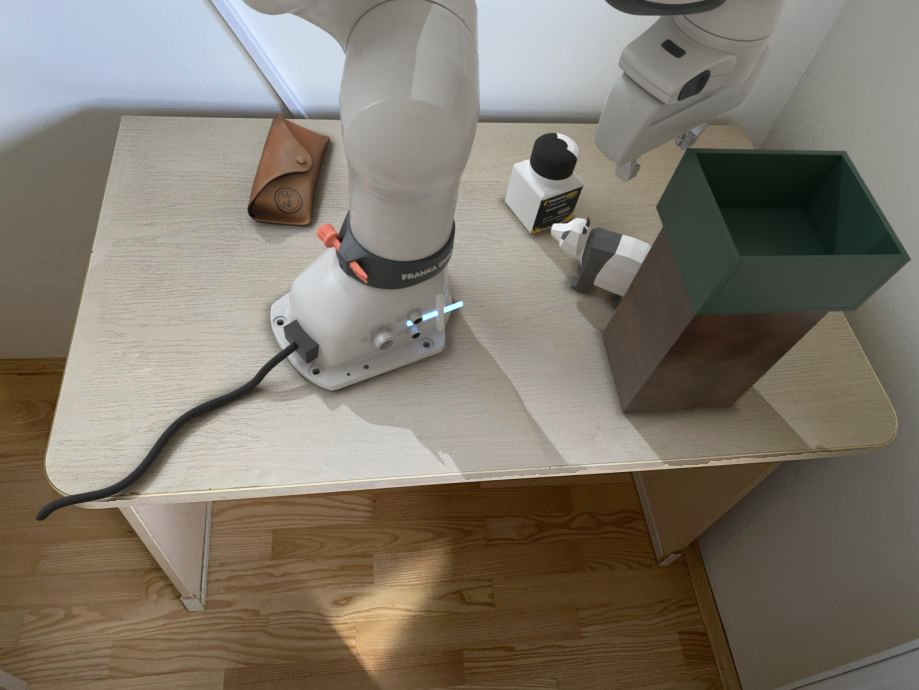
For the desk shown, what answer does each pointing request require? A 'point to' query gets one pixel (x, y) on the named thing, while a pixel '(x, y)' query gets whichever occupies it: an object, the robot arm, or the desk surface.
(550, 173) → the medicine bottle
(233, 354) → the desk surface
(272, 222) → the sunglasses case
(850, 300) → the bin
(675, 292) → the stand
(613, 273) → the giant panda
